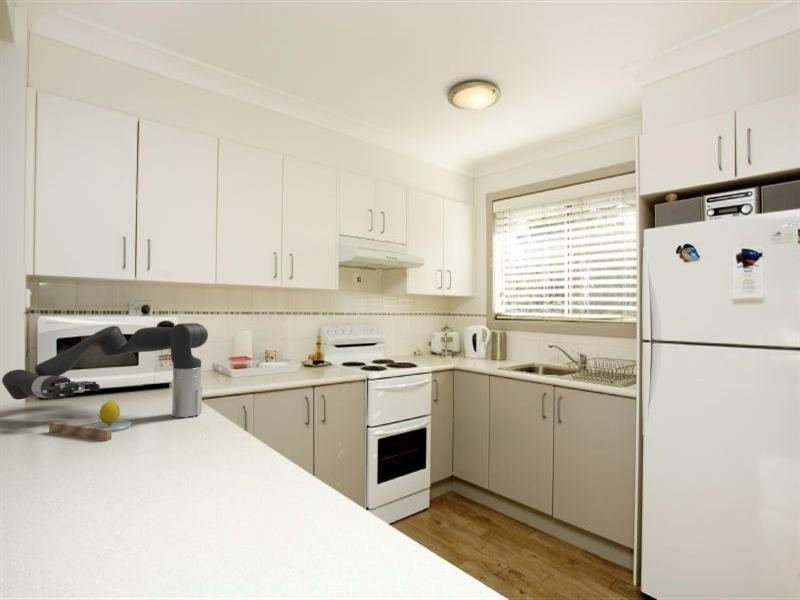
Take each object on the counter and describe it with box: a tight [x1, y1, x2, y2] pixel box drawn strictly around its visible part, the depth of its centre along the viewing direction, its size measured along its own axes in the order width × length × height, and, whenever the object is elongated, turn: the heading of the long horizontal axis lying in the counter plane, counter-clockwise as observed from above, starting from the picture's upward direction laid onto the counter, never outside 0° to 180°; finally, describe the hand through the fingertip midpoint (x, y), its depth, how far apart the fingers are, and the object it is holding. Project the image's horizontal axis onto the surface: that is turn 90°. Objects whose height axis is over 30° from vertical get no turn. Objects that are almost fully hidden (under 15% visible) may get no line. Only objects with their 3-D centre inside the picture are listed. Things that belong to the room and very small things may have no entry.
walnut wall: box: [48, 421, 113, 442], centre depth 134 cm, size 24×2×3 cm, turn 71°
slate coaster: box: [89, 420, 132, 433], centre depth 143 cm, size 12×12×1 cm
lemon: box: [99, 400, 121, 425], centre depth 144 cm, size 6×6×8 cm
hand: (86, 389), depth 147 cm, fingers open, 8 cm apart
